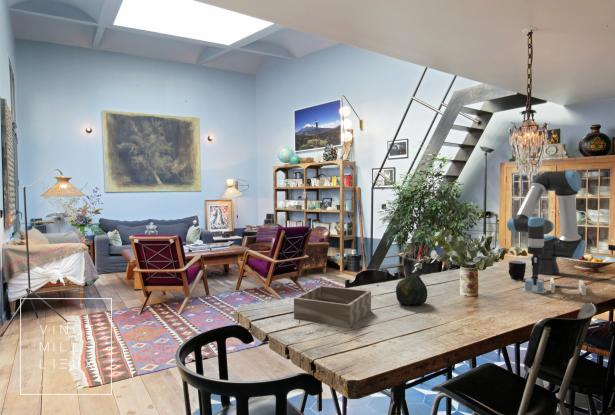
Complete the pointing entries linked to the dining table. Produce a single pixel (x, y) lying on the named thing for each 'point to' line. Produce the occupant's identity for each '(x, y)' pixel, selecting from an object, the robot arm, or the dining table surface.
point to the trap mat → (566, 287)
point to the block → (529, 284)
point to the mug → (517, 269)
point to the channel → (581, 287)
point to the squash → (411, 290)
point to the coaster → (535, 291)
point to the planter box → (332, 306)
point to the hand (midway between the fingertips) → (534, 289)
